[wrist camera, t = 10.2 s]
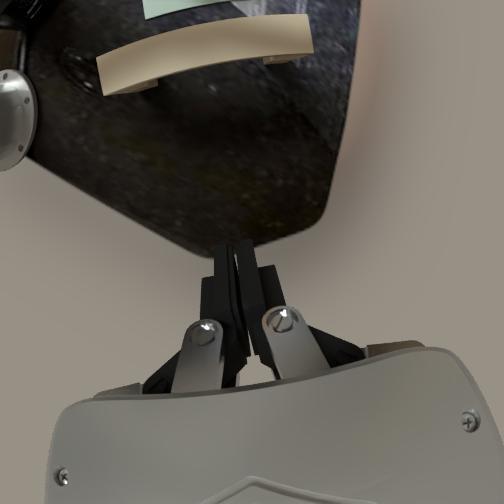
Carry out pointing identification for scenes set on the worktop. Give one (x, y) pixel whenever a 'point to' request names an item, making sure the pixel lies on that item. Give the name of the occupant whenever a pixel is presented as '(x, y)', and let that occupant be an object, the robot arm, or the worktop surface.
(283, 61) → the bridge
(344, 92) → the worktop surface
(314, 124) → the worktop surface
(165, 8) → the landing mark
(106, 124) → the worktop surface
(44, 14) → the supplement bottle
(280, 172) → the worktop surface
